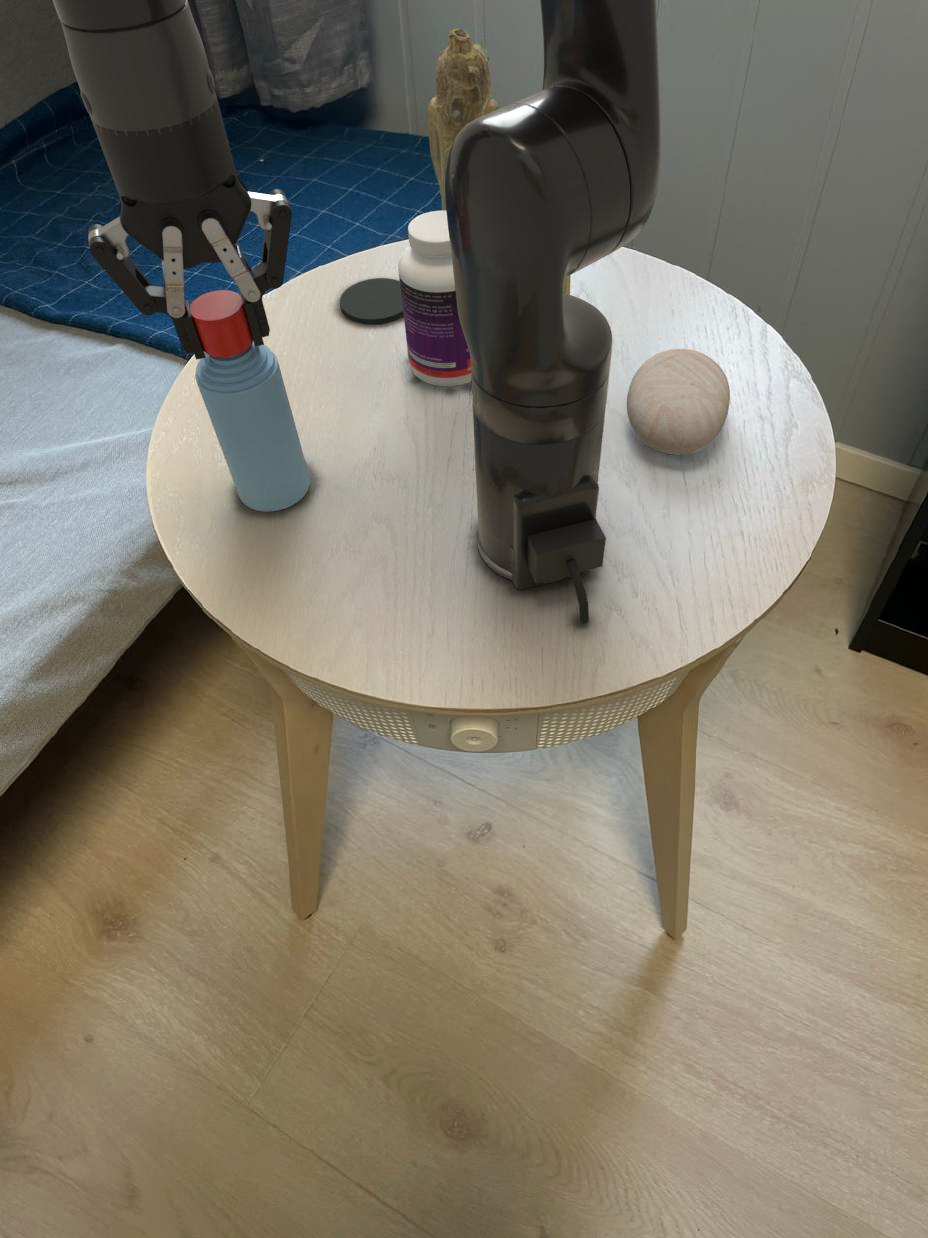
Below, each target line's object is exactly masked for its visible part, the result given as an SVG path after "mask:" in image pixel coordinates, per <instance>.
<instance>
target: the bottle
mask: <svg viewBox="0 0 928 1238" xmlns="http://www.w3.org/2000/svg"><path fill="white" fill-rule="evenodd" d="M205 357H206V358H202V359H198V362H197V364H196V368H195V374H194V375H195V381H196V384H197V387H198V389H199V392H200V395H201V399H202V401H203V403H204V406H205V408H206V411H207V413H208V417H209V419H210V422H211V424H212V427H213V430H214V432H215V435H216V439H217V441H218V444H219V446H220V449H221V451H222V454H223V456H224V457H223V458H224V459H225V463H226V465H227V468H228V471H229V473H230V476H231V477H232V478H231V479H232V481H233V484H234V486H235V490H236V492H237V494H238V498H239V500H240V501H241V502H242V503H243V504H244V505H245V506H246V507H248V508H249V509H251V510H254V511H258V512H264V513H266V512H267V513H269V512H277V511H283V510H285V509H288V508H291V507H292V506H294V505H295V504H297V503H299V502H300V501H301V500H302V499H303V498H304V497H305V496H306V495H307V493H308V491H309V489H310V485H311V478H310V477H311V476H310V473H309V469H308V465H307V463H306V462H307V461H306V458H305V454H304V452H303V448H302V444H301V440H300V436H299V433H298V430H297V425H296V423H295V418H294V415H293V411H292V407H291V404H290V400H289V396H288V393H287V390H286V385H285V381H284V379H283V374H282V371H281V368H280V364H279V360H278V358H277V356H276V354H275V353H274V351H272V349H270V348H269V347H268V346H267V345H265V344H264V345H261V346H256V347H255V344H254V340H253V343H252V345H251V346H250V347H249V348H248V349H247V350H246V351H244V352H242V353H240V354H238V355H235V356H231V357H224V358H219V357H213V356H210V355H208V354H206V353H205Z"/></svg>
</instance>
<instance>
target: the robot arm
mask: <svg viewBox="0 0 928 1238" xmlns="http://www.w3.org/2000/svg"><path fill="white" fill-rule="evenodd" d="M539 3H540V11H541V24H542V25H541V26H542V39H543V41H542V42H543V79H542V88H541V91H538V92H536V93H532V94H531V95H527V96H526V97H523V98H521V99H519V100H517V101H514V102H511V103H509V104H506V105H504V106H502V107H499V109H497V110H495V111H492V112H490V113H488V114H485V115H483V116H481V117H479V118H477V119H475V120H473V121H472V122H470V123H468V124H467V125H466V126H465V127H463V128H462V130H461V131H460V132H459V133H458V135H457V136H456V138H455V140H454V142H453V144H452V147H451V150H450V153H449V157H448V162H447V167H446V180H445V198H446V212H447V223H448V231H449V239H450V247H451V255H452V264H453V273H454V281H455V291H456V300H457V309H458V315H459V320H460V324H461V327H462V331H463V334H464V337H465V339H466V342H467V345H468V349H469V352H470V360H471V380H472V381H471V397H472V399H471V400H472V424H473V443H474V444H473V446H474V465H475V485H476V487H475V489H476V509H477V524H478V525H477V526H478V528H477V546H478V551H479V554H480V556H481V558H482V560H483V561H484V562H485V564H486V565H487V566H488V567H489V568H490V569H491V570H492V571H494V572H495V574H498V575H499V576H502V577H503V578H505V579H508V580H510V581H511V582H512V583H513V584H514V587H515V588H516V590H519V591H523V590H525V589H531V588H534V587H537V586H541V585H546V584H550V583H555V582H559V581H561V580H565V579H569V578H570V579H571V581H572V584H573V587H574V592H575V594H576V598H577V602H578V609H579V622H580V623H581V624H587V623H588V622H589V621H590V617H589V614H590V613H589V611H590V610H589V600H588V595H587V591H586V587H585V585H584V581H583V579H582V576H581V575H584V574H588V573H589V572H590V571H591V570H595V569H599V568H603V565H604V558H605V550H606V549H605V547H606V540H607V537H606V535H605V533H604V532H603V530H602V528H601V526H600V524H599V522H598V521H597V519H596V518H597V510H598V501H599V490H600V485H599V474H600V466H601V465H600V464H601V457H602V448H603V447H602V446H603V437H604V428H605V427H604V426H605V418H606V409H607V401H608V391H609V382H610V372H611V364H612V354H613V333H612V329H611V326H610V323H609V321H608V319H607V318H606V316H605V315H604V313H602V312H601V311H600V310H599V309H598V308H597V307H595V306H594V305H593V304H592V303H590V302H588V301H586V300H585V299H583V298H580V297H578V296H575V295H572V294H570V295H569V294H565V293H563V285H564V279H565V277H567V276H569V275H571V276H572V275H574V274H575V273H577V272H579V271H581V270H582V269H584V268H586V267H588V266H590V265H592V264H594V263H596V262H598V261H600V260H601V259H603V258H605V257H607V256H609V255H611V254H612V253H614V252H616V251H618V250H619V249H621V248H622V247H624V246H625V245H627V244H628V243H630V242H631V241H633V239H634V238H635V237H636V236H637V235H638V234H639V233H640V232H641V231H642V229H643V228H644V227H645V225H646V224H647V222H648V220H649V218H650V215H651V214H652V212H653V208H654V205H655V201H656V198H657V194H658V188H659V180H660V175H661V174H660V173H661V157H662V155H661V153H662V152H661V151H662V126H661V125H662V123H661V122H662V121H661V93H660V91H661V89H660V66H659V65H660V63H659V62H660V61H659V41H658V40H659V38H658V10H657V9H658V7H657V5H658V4H657V0H539ZM52 4H53V6H54V8H55V11H56V14H57V16H58V20H60V24H61V28H62V31H63V34H64V38H65V42H66V47H67V51H68V55H69V60H70V63H71V66H72V67H71V68H72V70H73V73H74V76H75V79H76V82H77V84H78V87H79V90H80V98H81V101H82V103H83V106H84V109H85V110H86V112H87V113H88V114H89V117H90V119H91V123H92V125H93V129H94V131H95V133H96V136H97V139H98V142H99V145H100V147H101V151H102V152H103V156H104V158H105V161H106V163H107V166H108V168H109V171H110V174H111V177H112V180H113V182H114V185H115V188H116V191H117V193H118V196H119V200H120V202H119V208H118V214H119V216H118V217H116V218H114V219H113V220H111V221H110V222H107V223H106V224H105V225H102V224H99V223H94V224H92V225H91V226H89V228H88V236H87V237H88V247H89V253H90V255H91V256H92V257H93V259H94V260H95V261H96V262H97V264H99V265H100V266H101V268H102V269H103V270H104V271H105V272H106V274H107V275H108V276H109V277H110V279H112V280H113V282H114V283H115V284H116V286H117V287H118V288H119V289H120V290H121V291H122V292H123V293H124V294H125V295H126V297H127V298H128V299H129V300H130V301H131V303H132V304H133V305H134V306H135V307H136V308H137V310H138V311H139V312H140V313H141V314H142V315H144V316H148V317H149V316H153V315H154V314H155V315H156V313H160V314H165V315H167V316H168V317H169V318H170V319H171V321H172V324H173V326H174V329H175V332H176V334H177V337H178V340H179V343H180V346H181V349H182V350H183V351H184V352H185V353H186V354H187V355H188V354H193V356H194V358H195V360H196V361H197V360H200V359H202V358H206V357H205V352H204V351H203V348H202V345H201V342H200V339H199V336H198V333H197V330H196V328H195V325H194V322H193V319H192V316H191V312H190V305H191V303H190V301H189V299H186V298H185V273H184V272H185V271H184V270H187V269H192V268H194V267H196V266H198V265H200V264H202V263H206V264H207V263H208V264H217V263H222V265H223V267H224V268H225V270H226V272H227V273H228V275H229V276H230V278H231V279H232V280H233V281H234V283H235V285H236V286H237V288H238V290H239V295H240V296H241V297H242V301H243V305H244V309H245V312H246V316H247V319H248V323H249V326H250V330H251V333H252V337H253V340H254V344H255V347H256V346H261V345H265V342H264V338H266V337H269V336H270V331H271V328H270V325H269V321H268V317H267V312H266V309H265V305H264V302H263V296H264V295H265V293H267V291H269V290H271V289H273V290H276V289H279V288H281V287H282V286H283V284H284V279H285V272H286V262H287V256H288V255H287V254H288V249H289V241H290V233H291V225H292V217H293V213H292V209H291V206H290V204H289V202H288V199H287V196H286V194H285V192H284V191H283V190H282V189H280V188H274V189H271V190H270V191H269V193H268V194H267V193H262V192H261V193H260V192H254V191H249V189H248V187H247V186H246V184H245V183H244V182H243V180H242V179H240V177H239V176H238V174H237V170H236V166H235V163H234V159H233V154H232V152H231V147H230V143H229V138H228V135H227V131H226V128H225V123H224V119H223V117H222V116H223V115H222V111H221V108H220V104H219V101H218V97H217V93H216V89H215V88H216V87H215V86H216V84H215V83H216V82H215V79H214V74H212V73H213V72H212V70H211V69H210V65H209V61H208V58H207V57H208V56H207V53H206V49H205V46H204V43H203V39H202V38H201V35H200V31H199V29H198V27H197V24H196V22H195V19H194V16H193V13H192V11H191V8H190V4H189V0H52ZM251 212H252V213H254V215H255V216H256V221H257V223H258V226H259V228H261V229H262V230H264V232H263V242H262V251H261V260H260V263H259V264H258V265H256V266H255V267H251V264H250V263H249V261H248V259H247V258H246V256H245V254H244V252H243V250H242V247H241V245H240V244H239V242H238V241H239V239H240V236H241V234H242V231H243V229H244V226H245V224H246V222H247V220H248V216H249V215H250V213H251ZM129 236H130V237H131V238H132V239H134V240H135V241H136V242H138V243H139V244H140V245H142V246H143V247H144V248H146V249H147V250H148V251H150V252H151V253H152V254H154V255H155V256H156V257H158V258H159V259H160V260H161V265H162V279H163V286H158V285H157V286H156V285H153V284H152V283H151V282H150V281H149V279H148V278H147V277H146V276H145V274H143V272H142V270H140V268H139V267H138V266H137V265H136V263H135V262H134V260H133V259H132V258H131V257H130V246H129V242H128V240H127V238H128V237H129Z"/></svg>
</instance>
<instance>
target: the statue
mask: <svg viewBox="0 0 928 1238" xmlns="http://www.w3.org/2000/svg"><path fill="white" fill-rule="evenodd" d="M447 37H448V46H447V47H446V48H445V49H444V50H442V51H441V52H440V53H439V57H438V60H437V65H436V75H435V89H436V90H435V91H436V93H435V96H434V97H432V98H431V100H430V101H429V103H428V105H427V109H426V120H427V132H428V141H429V143H428V144H429V153H430V157H431V162H432V166H433V170H434V174H435V176H436V177H435V178H436V181H437V183H438V185H439V189H438V191H439V194H440V197H441V211H446V198H445V180H446V167H447V162H448V157H449V153H450V150H451V147H452V144H453V142H454V140H455V138H456V136H457V135H458V133H459V132H460V131H461V130H462V128H463V127H465V126H466V125H467V124H468V123H470V122H472V121H473V120H475V119H477V118H479V117H481V116H483V115H485V114H488V113H490V112H492V111H495V110H497V109H499V108H500V107H499V105H498V103H497V101H496V100H495V99H493V98H492V97H491V96H492V90H491V73H490V72H491V71H490V69H489V61H490V54H489V51H488V50H487V49H486V48H485V46H484V44H483V43H473V41H472V38H471V36H470V35H469V33H468V32H467V31H466V30H463V27H459V28H454V29H451V30H449V31H448V33H447Z"/></svg>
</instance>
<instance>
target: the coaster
mask: <svg viewBox="0 0 928 1238" xmlns="http://www.w3.org/2000/svg"><path fill="white" fill-rule="evenodd" d="M339 306H340V310H341V312H342V314H343V315H344V316H345V317H346V318H347V319H349V320H351V321H353V322H356V323H360V324H365V325H379V324H386V323H389V322H392V321H395V320H398V319H400V318H402V317H404V314H403V305H402V297H401V288H400V280H397V279H393V278H386V277H377V278H369V279H363V280H361V281H358V282H356V283H354V284H352V285H350V286H349V287H348V288H346V289H345V290H344V291H343V292H342V294H341V296H340V299H339Z"/></svg>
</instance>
